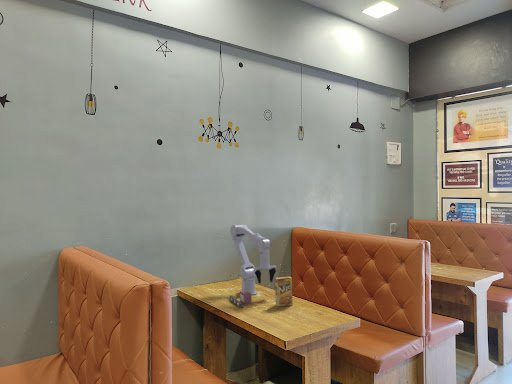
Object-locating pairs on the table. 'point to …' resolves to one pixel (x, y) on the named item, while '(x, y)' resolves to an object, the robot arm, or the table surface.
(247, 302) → the carton
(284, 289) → the candy box
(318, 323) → the table surface
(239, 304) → the price rail
